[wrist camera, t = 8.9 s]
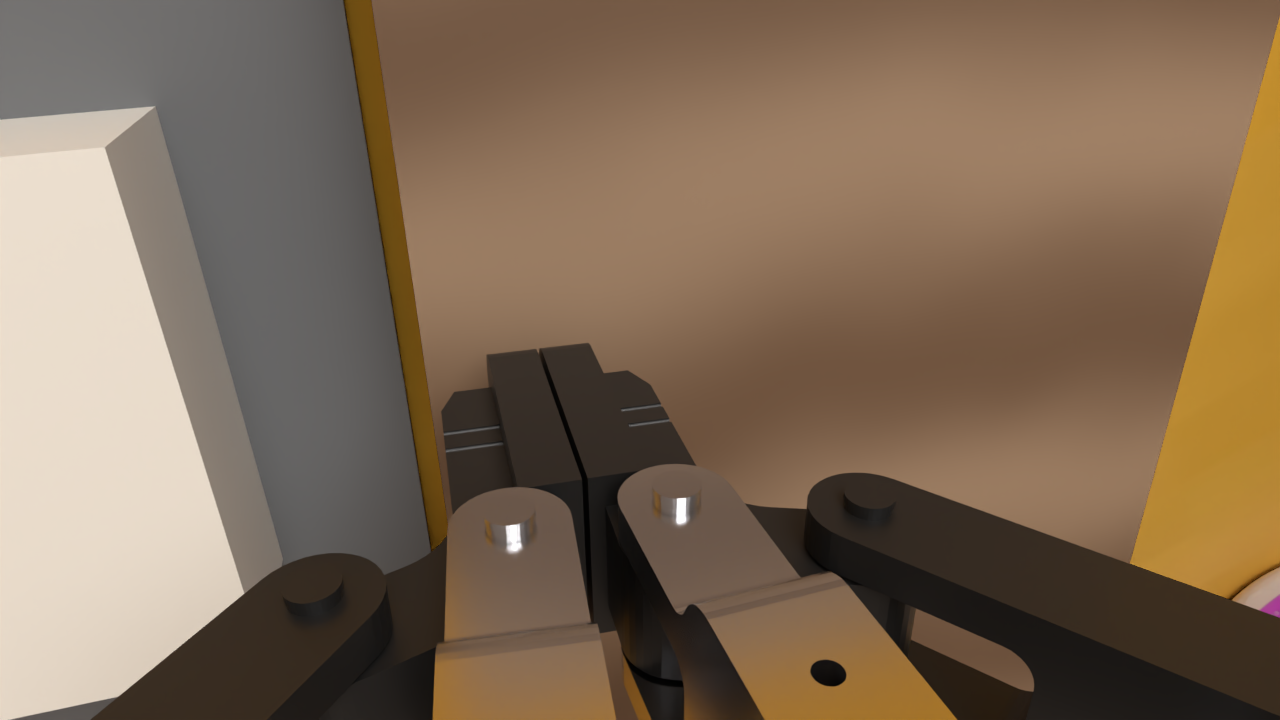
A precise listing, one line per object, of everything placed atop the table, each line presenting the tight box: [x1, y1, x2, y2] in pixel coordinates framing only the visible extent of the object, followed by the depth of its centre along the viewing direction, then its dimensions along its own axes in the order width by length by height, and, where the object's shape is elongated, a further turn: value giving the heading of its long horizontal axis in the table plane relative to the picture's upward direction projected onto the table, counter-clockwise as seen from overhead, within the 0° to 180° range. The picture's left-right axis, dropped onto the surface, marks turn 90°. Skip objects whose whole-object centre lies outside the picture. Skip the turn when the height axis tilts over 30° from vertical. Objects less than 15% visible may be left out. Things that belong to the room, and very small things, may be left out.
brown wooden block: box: [371, 0, 1280, 720], centre depth 17 cm, size 22×14×4 cm, turn 2°
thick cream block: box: [0, 106, 283, 720], centre depth 14 cm, size 9×6×3 cm, turn 3°
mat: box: [0, 0, 431, 720], centre depth 16 cm, size 18×13×1 cm
